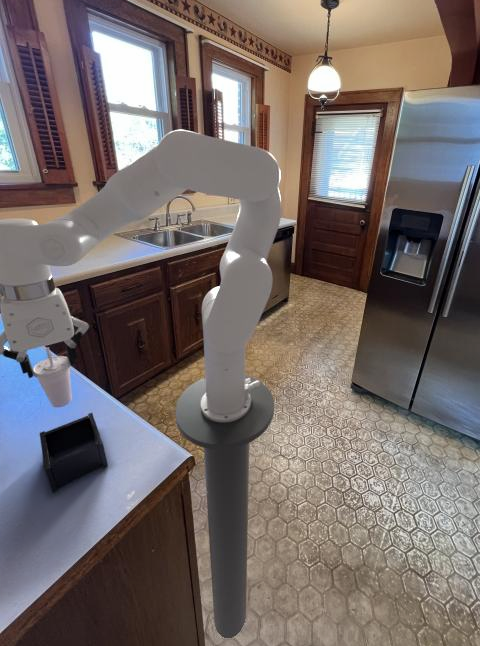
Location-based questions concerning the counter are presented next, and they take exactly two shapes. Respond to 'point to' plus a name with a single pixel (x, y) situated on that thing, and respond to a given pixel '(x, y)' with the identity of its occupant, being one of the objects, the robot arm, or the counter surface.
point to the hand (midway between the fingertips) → (52, 367)
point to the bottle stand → (77, 461)
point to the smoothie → (54, 379)
